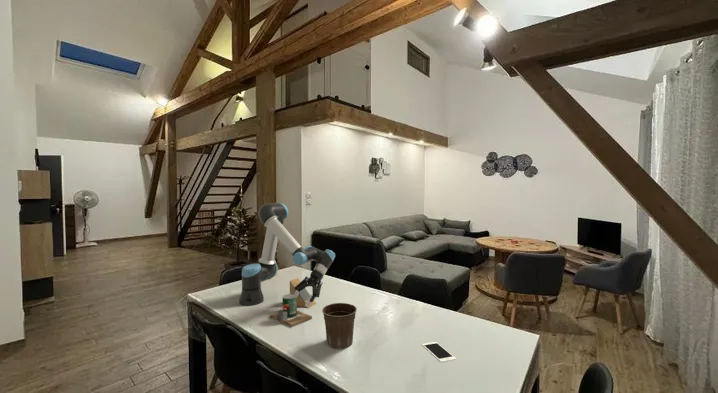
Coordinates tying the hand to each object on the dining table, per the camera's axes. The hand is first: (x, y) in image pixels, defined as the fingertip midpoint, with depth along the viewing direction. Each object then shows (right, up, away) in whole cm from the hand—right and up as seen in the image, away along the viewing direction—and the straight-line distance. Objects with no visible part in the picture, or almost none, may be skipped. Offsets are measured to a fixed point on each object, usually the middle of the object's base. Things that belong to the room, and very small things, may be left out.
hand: (298, 303), depth 179 cm
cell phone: (+70, -8, -40) cm, 81 cm away
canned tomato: (-4, -5, -4) cm, 8 cm away
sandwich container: (-1, -7, +19) cm, 20 cm away
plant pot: (+26, -7, -33) cm, 42 cm away
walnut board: (-4, -7, -4) cm, 9 cm away
